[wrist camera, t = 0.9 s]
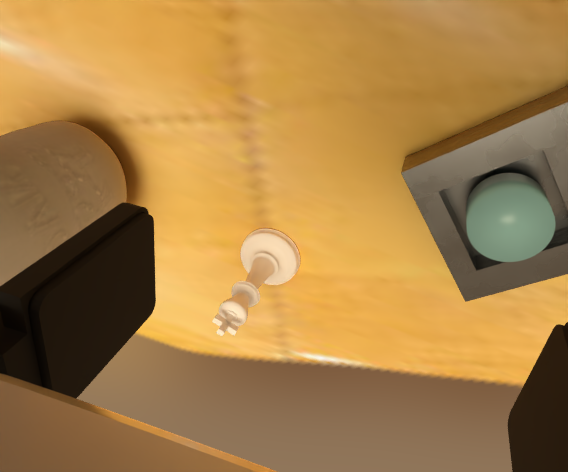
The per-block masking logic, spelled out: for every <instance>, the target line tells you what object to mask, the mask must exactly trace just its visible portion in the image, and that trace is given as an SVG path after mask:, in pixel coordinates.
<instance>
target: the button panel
mask: <svg viewBox="0 0 568 472" xmlns="http://www.w3.org/2000/svg"><path fill="white" fill-rule="evenodd" d="M502 173H517V174H522V175H525V176H528V177H530V178H532V179H533V180H535V181H536V182H537V183H538V184H539V185H540V186H541V187H542V188H543V190H544V191H545V193H546V196H547V198H548V201H549V203H550V206H551V208H552V211H553V213H554V216H555V232H554V235H553V237H552V239H551V241H550V242H549V244H548V245H547V246H546V247H545V248H544V249H543V250H542V251H541V252H539V253H538V254H536V255H535V256H533V257H531V258H528V259H525V260H521V261H516V262H501V261H496V260H493V259H490V258H488V257H486V256H484V255H482V254H481V253H479V252H478V251H477V250H476V249H475V248H474V247H473V245H472V244H471V242H470V240H469V238H468V235H467V225H466V204H467V200H468V197H469V195H470V193H471V192H472V190H473V189H474V188H475V187H476V186H477V185H478V184H479V183H480V182H482V181H483V180H485V179H487V178H489V177H491V176H494V175H497V174H502ZM401 174H402V176H403V178H404V180H405V182H406V184H407V186H408V188H409V190H410V192H411V194H412V196H413V198H414V200H415V202H416V204H417V206H418V208H419V210H420V212H421V214H422V216H423V218H424V220H425V222H426V224H427V226H428V228H429V230H430V232H431V234H432V236H433V238H434V240H435V242H436V244H437V246H438V248H439V250H440V252H441V254H442V256H443V258H444V260H445V262H446V264H447V266H448V268H449V270H450V272H451V274H452V276H453V278H454V280H455V282H456V284H457V286H458V288H459V290H460V292H461V294H462V296H463V298H464V300H465V302H466V301H470V300H473V299H477V298H481V297H484V296H488V295H492V294H495V293H499V292H503V291H506V290H510V289H514V288H517V287H521V286H525V285H528V284H532V283H536V282H539V281H543V280H547V279H550V278H554V277H558V276H561V275H565V274H568V86H566V87H564V88H562V89H559V90H557V91H555V92H553V93H550V94H548V95H546V96H544V97H541V98H539V99H537V100H534V101H532V102H530V103H528V104H525V105H523V106H521V107H519V108H516V109H514V110H512V111H509V112H507V113H505V114H503V115H500V116H498V117H496V118H493V119H491V120H489V121H487V122H484V123H482V124H480V125H478V126H475V127H473V128H471V129H468V130H466V131H464V132H462V133H459V134H457V135H455V136H453V137H450V138H448V139H446V140H443V141H441V142H439V143H437V144H434V145H432V146H430V147H428V148H425V149H423V150H421V151H418V152H416V153H414V154H412V155H409V156H407V157H405V161H404V164H403V168H402V172H401Z"/></svg>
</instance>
